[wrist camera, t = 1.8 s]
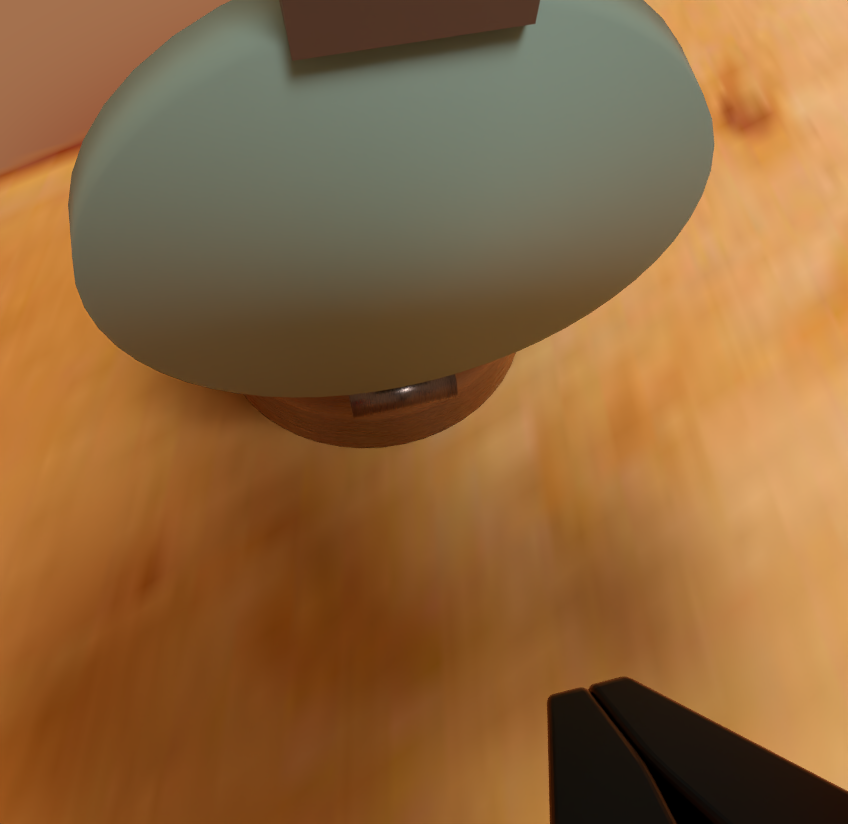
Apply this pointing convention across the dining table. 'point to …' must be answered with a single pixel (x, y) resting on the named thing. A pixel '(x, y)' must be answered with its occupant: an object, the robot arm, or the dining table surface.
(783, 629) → the dining table surface
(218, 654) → the dining table surface
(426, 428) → the cooker pot
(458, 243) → the lid
